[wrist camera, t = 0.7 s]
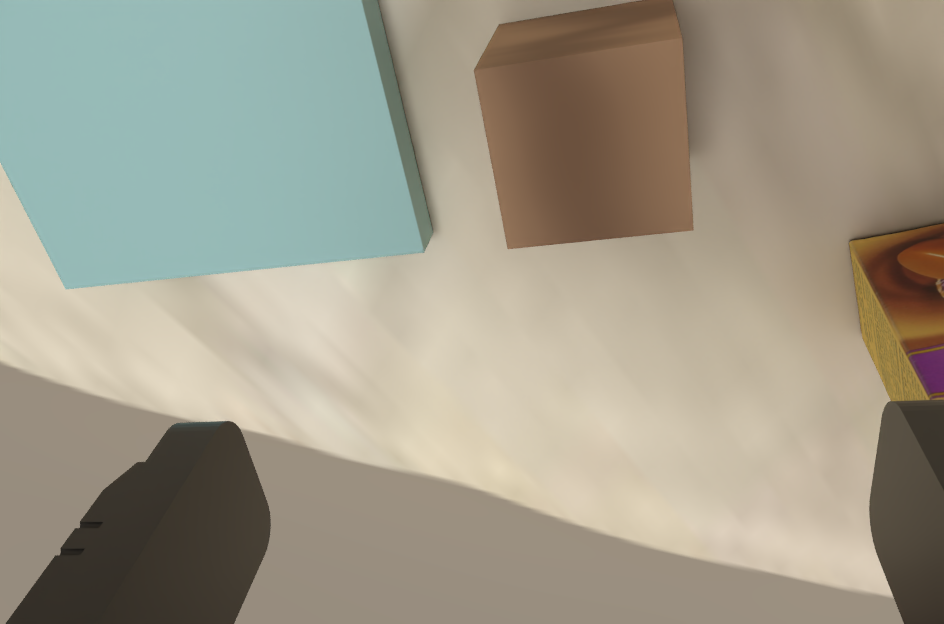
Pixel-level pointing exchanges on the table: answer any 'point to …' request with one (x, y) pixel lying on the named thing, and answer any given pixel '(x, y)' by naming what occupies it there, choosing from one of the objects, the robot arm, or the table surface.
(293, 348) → the table surface
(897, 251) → the candy box
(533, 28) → the walnut cube
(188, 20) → the teal board
